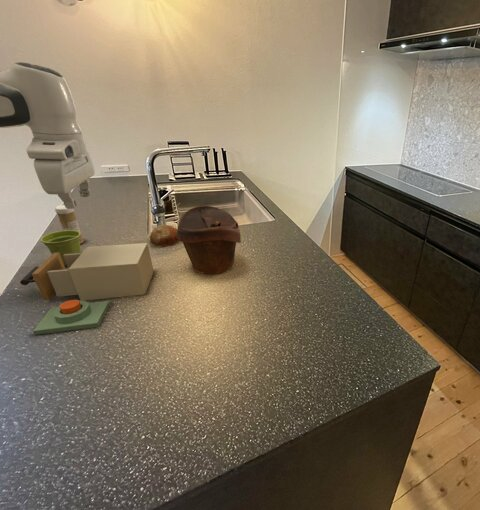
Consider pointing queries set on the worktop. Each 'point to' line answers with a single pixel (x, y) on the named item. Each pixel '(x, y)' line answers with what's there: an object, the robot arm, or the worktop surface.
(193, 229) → the chocolate muffin
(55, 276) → the drawer
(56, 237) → the plant pot
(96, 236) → the worktop surface
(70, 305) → the button
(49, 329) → the panel
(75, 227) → the sprinkles bottle
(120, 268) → the cabinet
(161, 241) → the bread roll
